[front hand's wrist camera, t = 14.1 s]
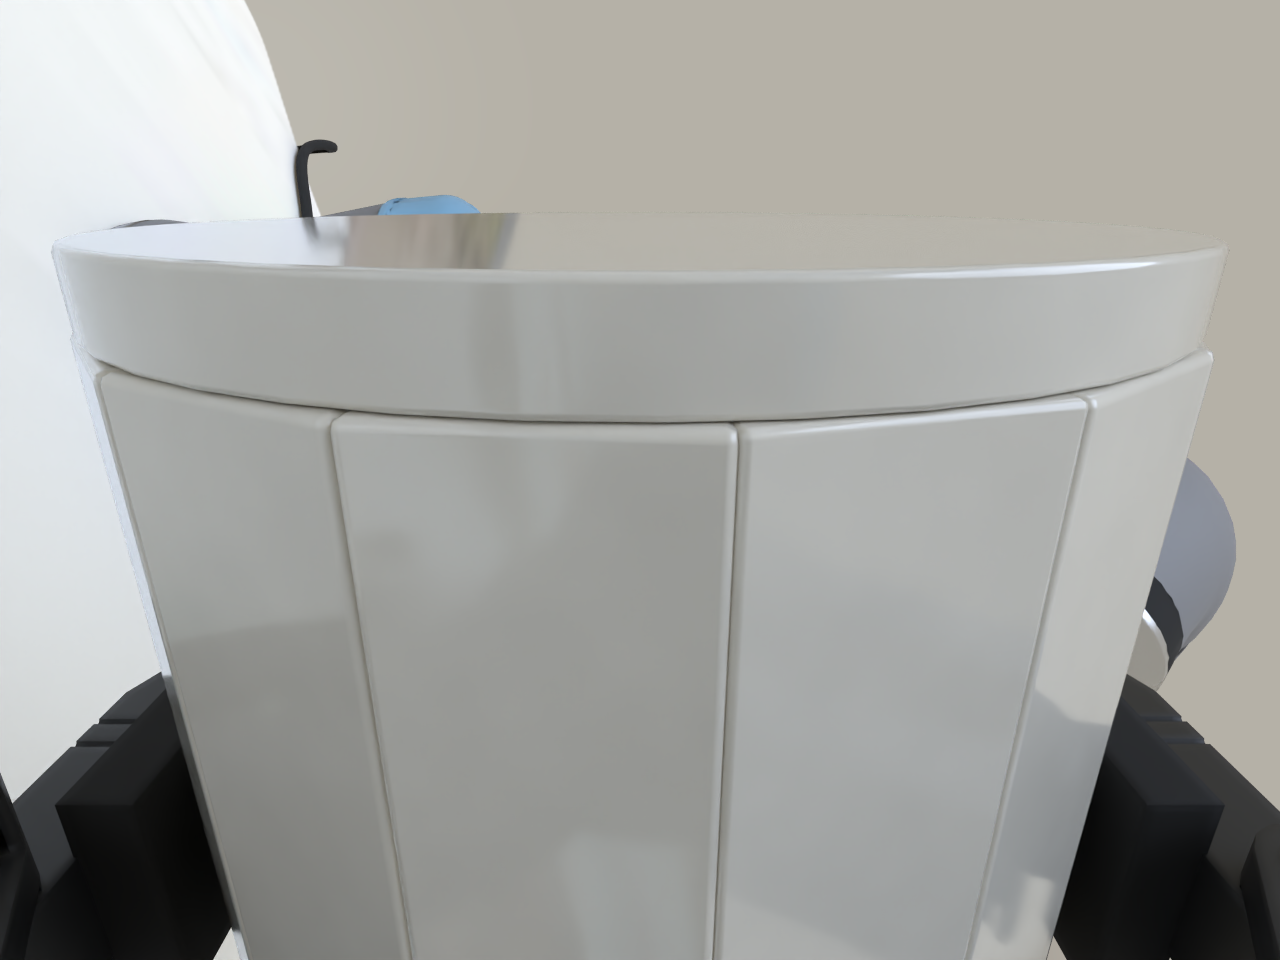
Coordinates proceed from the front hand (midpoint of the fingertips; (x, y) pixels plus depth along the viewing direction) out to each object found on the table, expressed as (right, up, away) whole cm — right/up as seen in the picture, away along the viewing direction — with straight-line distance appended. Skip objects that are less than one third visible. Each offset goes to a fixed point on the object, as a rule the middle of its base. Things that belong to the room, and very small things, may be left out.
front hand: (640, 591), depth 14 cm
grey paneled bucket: (0, +5, -6) cm, 8 cm away
